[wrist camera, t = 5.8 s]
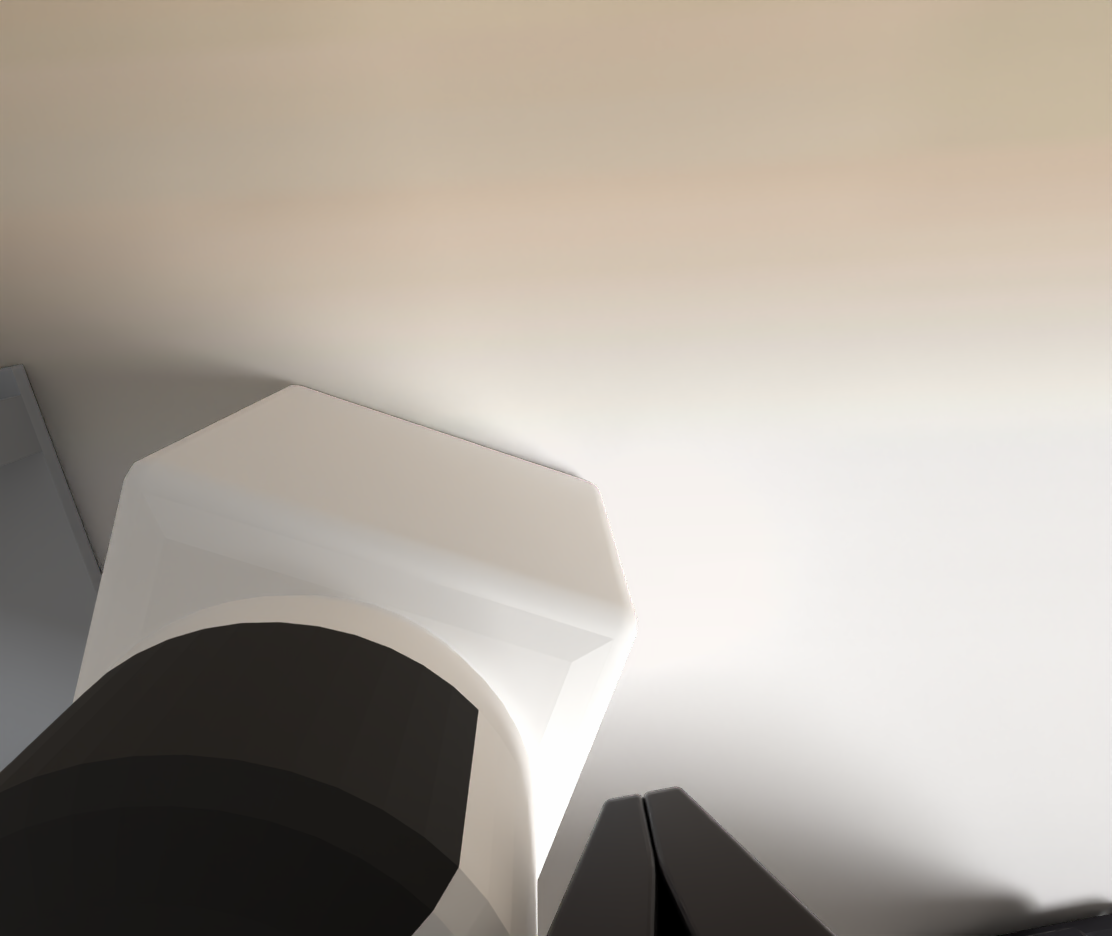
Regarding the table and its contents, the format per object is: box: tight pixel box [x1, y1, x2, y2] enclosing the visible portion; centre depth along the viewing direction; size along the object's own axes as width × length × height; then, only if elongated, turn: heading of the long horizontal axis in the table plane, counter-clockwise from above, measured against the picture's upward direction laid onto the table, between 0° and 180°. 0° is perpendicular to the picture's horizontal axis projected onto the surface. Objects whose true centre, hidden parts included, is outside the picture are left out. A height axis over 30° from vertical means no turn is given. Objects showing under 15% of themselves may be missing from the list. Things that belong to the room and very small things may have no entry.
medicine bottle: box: [0, 385, 638, 936], centre depth 12 cm, size 7×7×12 cm
